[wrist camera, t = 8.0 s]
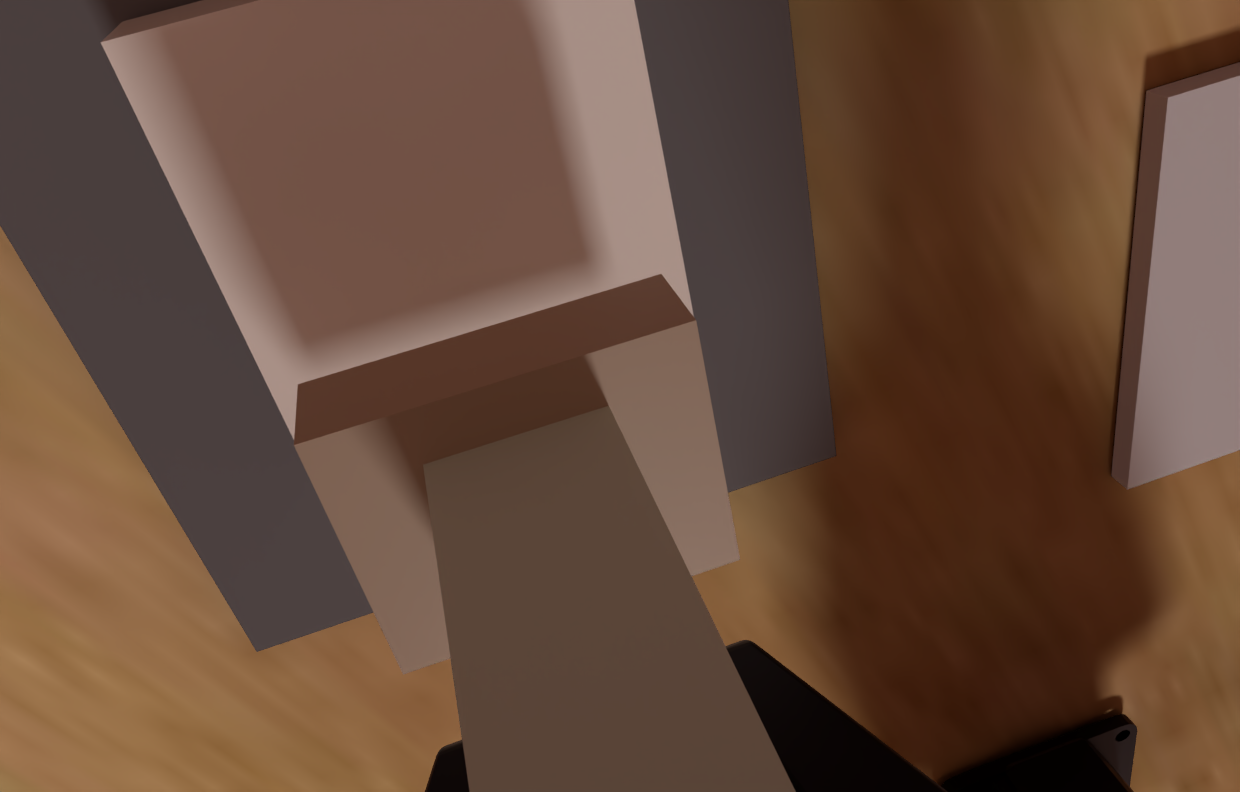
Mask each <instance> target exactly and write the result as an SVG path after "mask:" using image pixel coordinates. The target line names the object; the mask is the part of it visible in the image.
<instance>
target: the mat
mask: <svg viewBox="0 0 1240 792" xmlns="http://www.w3.org/2000/svg"><path fill="white" fill-rule="evenodd" d="M198 1H202V0H0V226H1V227H2V229H3V231H4V232H5V234H6V236H7V237H8V239H9V241H10V242H11V244H12V246H13V247H14V249H15V251H16V252H17V254H18V256H19V257H20V259H21V261H22V262H23V264H24V266H25V267H26V269H27V271H28V272H29V274H30V276H31V277H32V279H33V281H34V282H35V284H36V286H37V287H38V289H39V291H40V292H41V294H42V296H43V297H44V299H45V301H46V302H47V304H48V306H49V307H50V309H51V311H52V312H53V314H54V316H55V317H56V319H57V321H58V322H59V324H60V326H61V327H62V329H63V330H64V332H65V334H66V335H67V337H68V339H69V340H70V342H71V344H72V345H73V347H74V349H75V350H76V352H77V354H78V355H79V357H80V359H81V360H82V362H83V364H84V365H85V367H86V369H87V370H88V372H89V374H90V375H91V377H92V379H93V380H94V382H95V384H96V385H97V387H98V389H99V390H100V392H101V394H102V395H103V397H104V399H105V400H106V402H107V404H108V405H109V407H110V409H111V410H112V412H113V414H114V415H115V417H116V419H117V420H118V422H119V424H120V425H121V427H122V429H123V430H124V432H125V434H126V435H127V437H128V439H129V440H130V442H131V443H132V445H133V447H134V448H135V450H136V452H137V453H138V455H139V457H140V458H141V460H142V462H143V463H144V465H145V467H146V468H147V470H148V472H149V473H150V475H151V477H152V478H153V480H154V482H155V483H156V485H157V487H158V488H159V490H160V492H161V493H162V495H163V497H164V498H165V500H166V502H167V503H168V505H169V507H170V508H171V510H172V512H173V513H174V515H175V517H176V518H177V520H178V522H179V523H180V525H181V527H182V528H183V530H184V532H185V533H186V535H187V537H188V538H189V540H190V542H191V543H192V545H193V547H194V548H195V550H196V552H197V553H198V555H199V556H200V558H201V560H202V561H203V563H204V565H205V566H206V568H207V570H208V571H209V573H210V575H211V576H212V578H213V580H214V581H215V583H216V585H217V586H218V588H219V590H220V591H221V593H222V595H223V596H224V598H225V600H226V601H227V603H228V605H229V606H230V608H231V610H232V611H233V613H234V615H235V616H236V618H237V620H238V621H239V623H240V625H241V626H242V628H243V630H244V631H245V633H246V635H247V636H248V638H249V640H250V641H251V643H252V645H253V646H254V648H255V650H256V651H257V652H258V651H261V650H264V649H267V648H270V647H272V646H275V645H278V644H281V643H284V642H287V641H290V640H293V639H296V638H299V637H302V636H305V635H308V634H311V633H314V632H317V631H320V630H323V629H326V628H329V627H332V626H335V625H338V624H341V623H343V622H346V621H349V620H352V619H355V618H358V617H361V616H364V615H367V614H370V613H373V610H372V608H371V606H370V604H369V602H368V600H367V597H366V595H365V593H364V591H363V589H362V587H361V585H360V583H359V581H358V579H357V577H356V574H355V572H354V570H353V568H352V566H351V564H350V562H349V560H348V558H347V556H346V553H345V551H344V549H343V547H342V545H341V543H340V541H339V539H338V537H337V535H336V533H335V530H334V528H333V526H332V524H331V522H330V520H329V518H328V516H327V514H326V512H325V510H324V507H323V505H322V503H321V501H320V499H319V497H318V495H317V493H316V491H315V489H314V487H313V484H312V482H311V480H310V478H309V476H308V474H307V472H306V470H305V468H304V466H303V463H302V461H301V459H300V457H299V455H298V453H297V451H296V449H295V447H294V439H293V437H292V435H291V433H290V431H289V429H288V427H287V425H286V423H285V421H284V419H283V417H282V415H281V412H280V410H279V408H278V406H277V404H276V402H275V400H274V398H273V396H272V394H271V392H270V390H269V388H268V386H267V384H266V382H265V380H264V378H263V375H262V373H261V371H260V369H259V367H258V365H257V363H256V361H255V359H254V357H253V355H252V353H251V351H250V349H249V347H248V345H247V343H246V340H245V338H244V336H243V334H242V332H241V330H240V328H239V326H238V324H237V322H236V320H235V318H234V316H233V314H232V312H231V310H230V308H229V306H228V303H227V301H226V299H225V297H224V295H223V293H222V291H221V289H220V287H219V285H218V283H217V281H216V279H215V277H214V275H213V273H212V271H211V268H210V266H209V264H208V262H207V260H206V258H205V256H204V254H203V252H202V250H201V248H200V246H199V244H198V242H197V240H196V238H195V236H194V234H193V231H192V229H191V227H190V225H189V223H188V221H187V219H186V217H185V215H184V213H183V211H182V209H181V207H180V205H179V203H178V201H177V199H176V196H175V194H174V192H173V190H172V188H171V186H170V184H169V182H168V180H167V178H166V176H165V174H164V172H163V170H162V168H161V166H160V164H159V162H158V159H157V157H156V155H155V153H154V151H153V149H152V147H151V145H150V143H149V141H148V139H147V137H146V135H145V133H144V131H143V129H142V127H141V124H140V122H139V120H138V118H137V116H136V114H135V112H134V110H133V108H132V106H131V104H130V102H129V100H128V98H127V96H126V94H125V92H124V90H123V87H122V85H121V83H120V81H119V79H118V77H117V75H116V73H115V71H114V69H113V67H112V65H111V63H110V61H109V59H108V57H107V55H106V52H105V50H104V48H103V46H102V44H101V41H103V40H104V39H105V38H106V37H107V36H108V35H109V34H110V33H111V32H112V31H113V30H114V29H115V28H116V27H117V26H118V25H119V24H120V23H121V22H123V21H126V20H130V19H134V18H138V17H141V16H145V15H149V14H153V13H156V12H160V11H164V10H168V9H172V8H175V7H179V6H183V5H187V4H190V3H194V2H198ZM634 1H635V7H636V12H637V17H638V23H639V28H640V33H641V39H642V44H643V49H644V54H645V60H646V65H647V70H648V76H649V81H650V86H651V92H652V97H653V102H654V108H655V113H656V118H657V123H658V129H659V134H660V139H661V145H662V150H663V155H664V161H665V166H666V171H667V177H668V182H669V187H670V192H671V198H672V203H673V208H674V214H675V219H676V224H677V230H678V235H679V240H680V246H681V251H682V256H683V261H684V267H685V272H686V277H687V283H688V288H689V293H690V299H691V304H692V309H693V315H694V318H695V319H696V322H697V327H698V333H699V338H700V344H701V349H702V355H703V360H704V366H705V371H706V376H707V382H708V387H709V393H710V398H711V404H712V409H713V415H714V420H715V425H716V431H717V436H718V442H719V447H720V453H721V458H722V464H723V469H724V475H725V480H726V485H727V491H728V492H731V491H734V490H737V489H740V488H743V487H746V486H749V485H752V484H755V483H758V482H760V481H763V480H766V479H769V478H772V477H775V476H778V475H781V474H784V473H787V472H790V471H793V470H796V469H799V468H802V467H805V466H808V465H811V464H814V463H817V462H820V461H823V460H826V459H829V458H831V457H834V456H836V447H835V438H834V428H833V419H832V410H831V400H830V391H829V381H828V372H827V362H826V353H825V343H824V334H823V324H822V315H821V306H820V296H819V287H818V277H817V268H816V258H815V249H814V239H813V230H812V220H811V211H810V202H809V192H808V183H807V173H806V164H805V154H804V145H803V135H802V126H801V116H800V107H799V97H798V88H797V79H796V69H795V60H794V50H793V41H792V31H791V22H790V12H789V3H788V0H634Z"/></svg>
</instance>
